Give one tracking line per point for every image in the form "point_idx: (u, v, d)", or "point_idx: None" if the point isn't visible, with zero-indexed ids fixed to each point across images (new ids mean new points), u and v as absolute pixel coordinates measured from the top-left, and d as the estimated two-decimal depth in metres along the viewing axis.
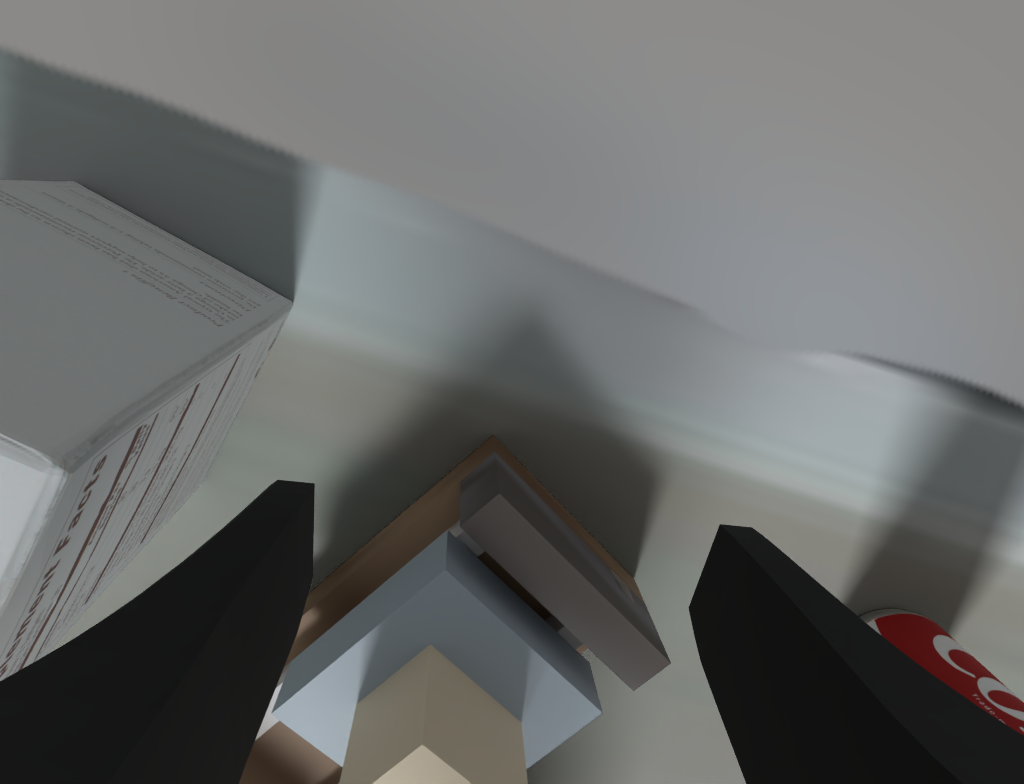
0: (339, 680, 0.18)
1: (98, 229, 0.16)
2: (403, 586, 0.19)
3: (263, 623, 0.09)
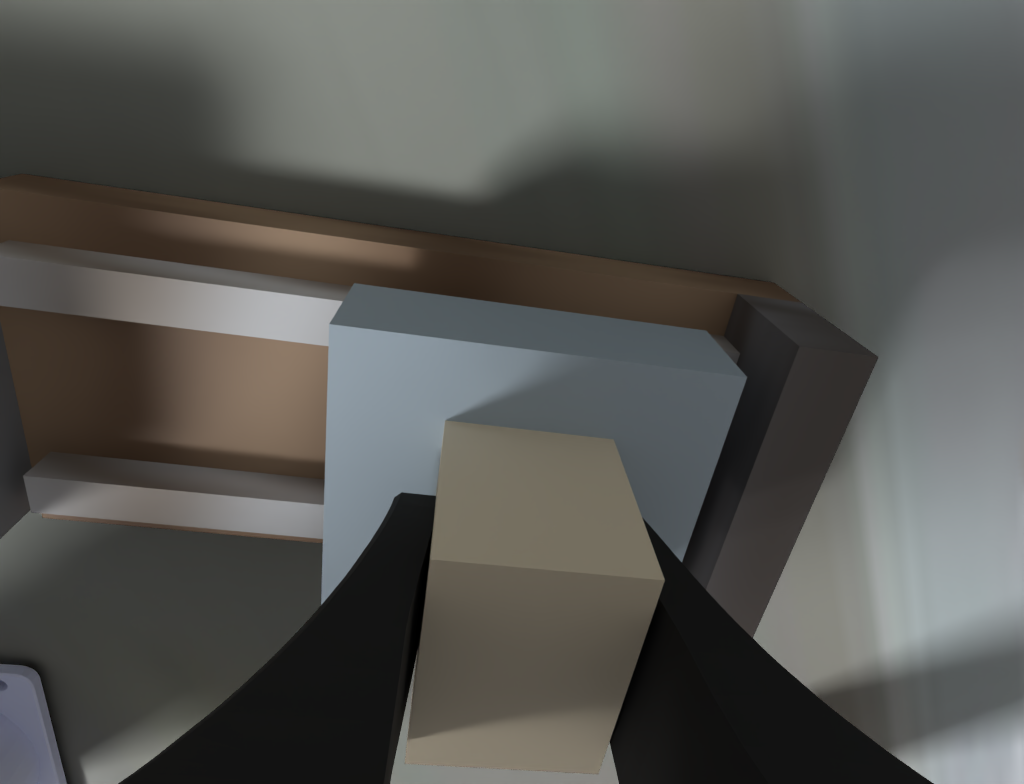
0: (466, 373, 0.11)
1: None
2: (636, 342, 0.11)
3: (412, 635, 0.09)
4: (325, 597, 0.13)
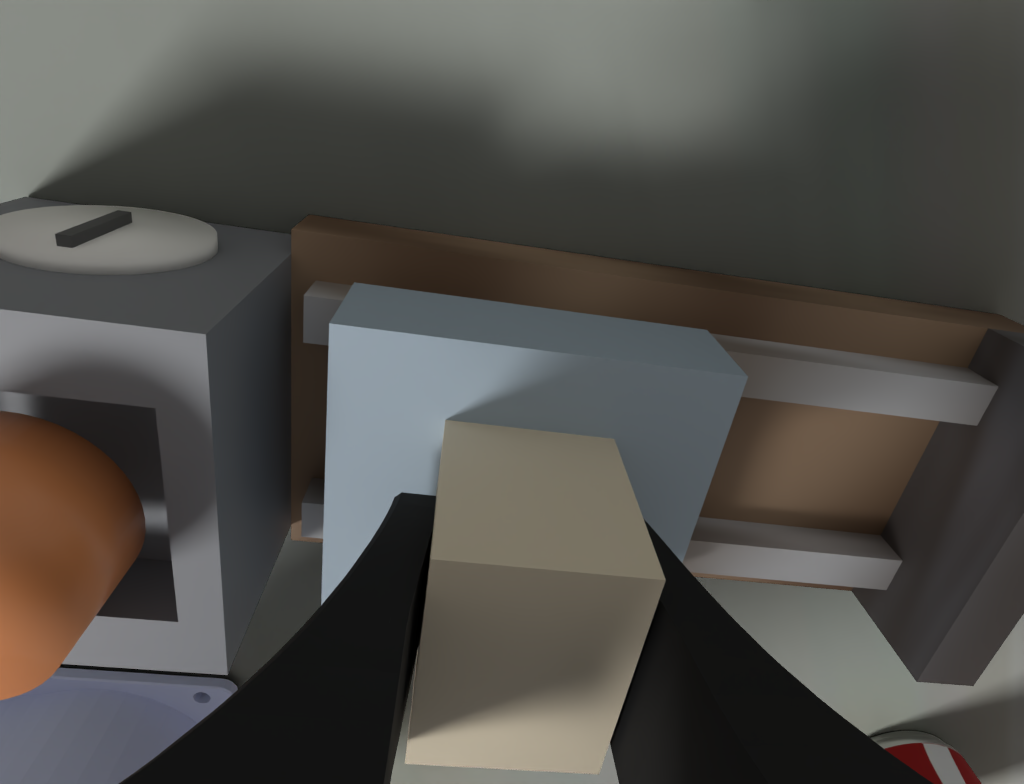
0: (467, 372, 0.10)
1: None
2: (636, 341, 0.11)
3: (412, 634, 0.09)
4: (325, 597, 0.13)
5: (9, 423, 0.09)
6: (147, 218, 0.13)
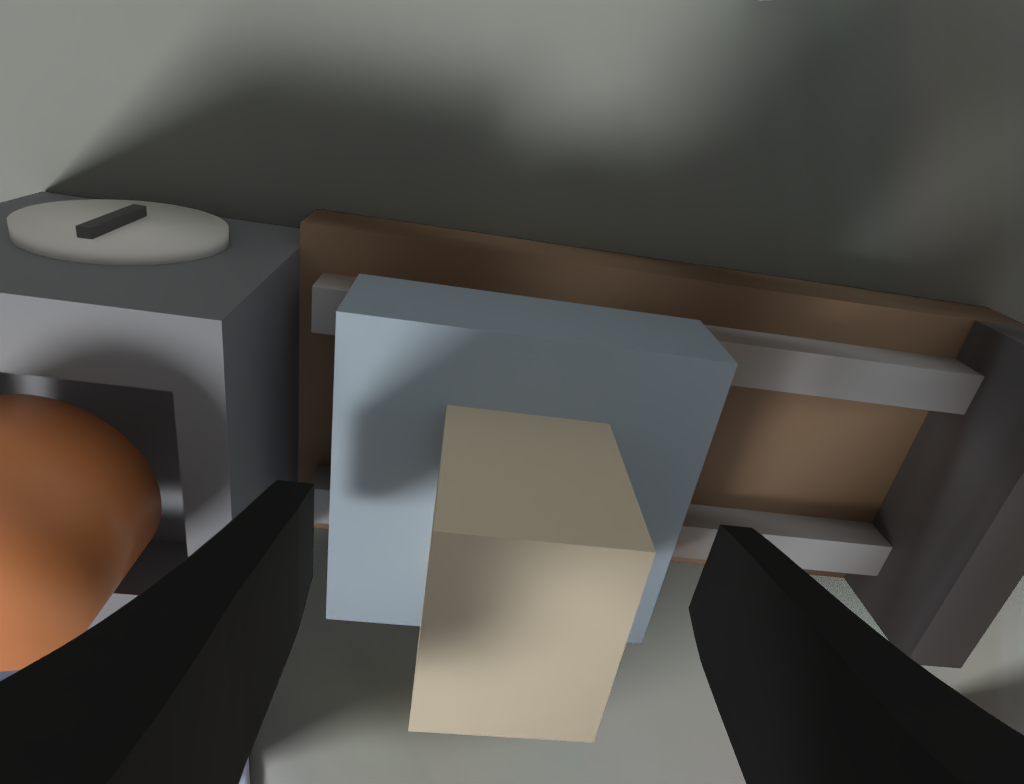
0: (468, 359, 0.11)
1: None
2: (631, 330, 0.12)
3: (264, 623, 0.09)
4: (331, 577, 0.13)
5: (34, 405, 0.10)
6: (161, 212, 0.13)
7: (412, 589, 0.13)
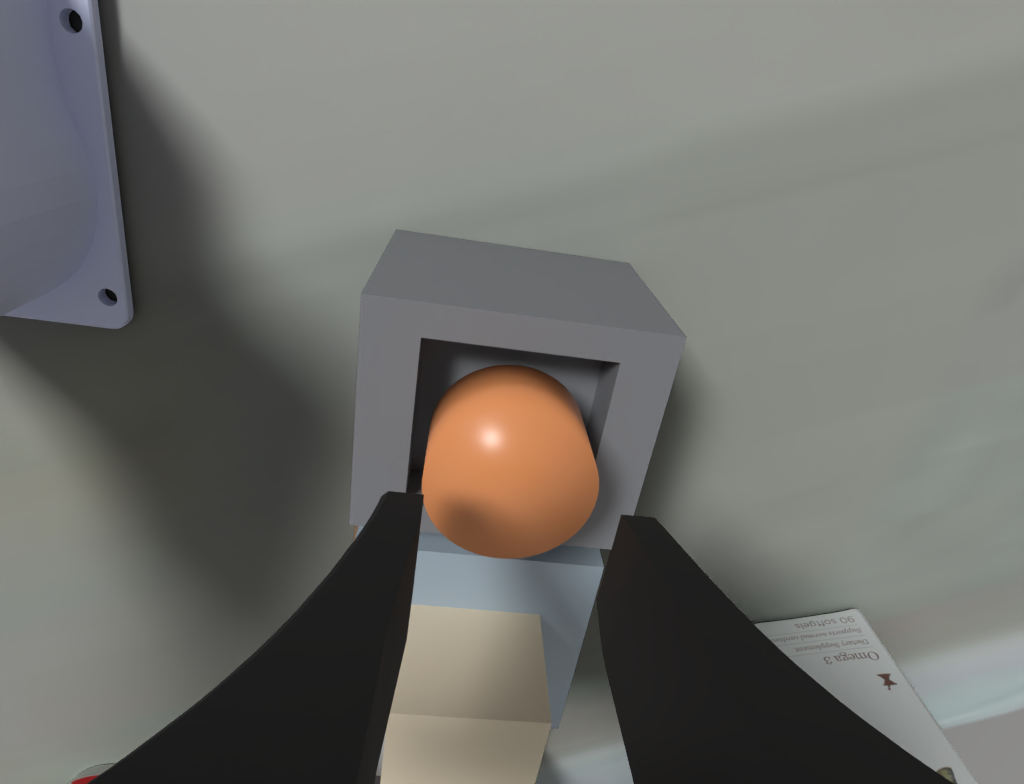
0: (569, 623, 0.19)
1: None
2: None
3: (397, 633, 0.09)
4: None
5: None
6: None
7: None
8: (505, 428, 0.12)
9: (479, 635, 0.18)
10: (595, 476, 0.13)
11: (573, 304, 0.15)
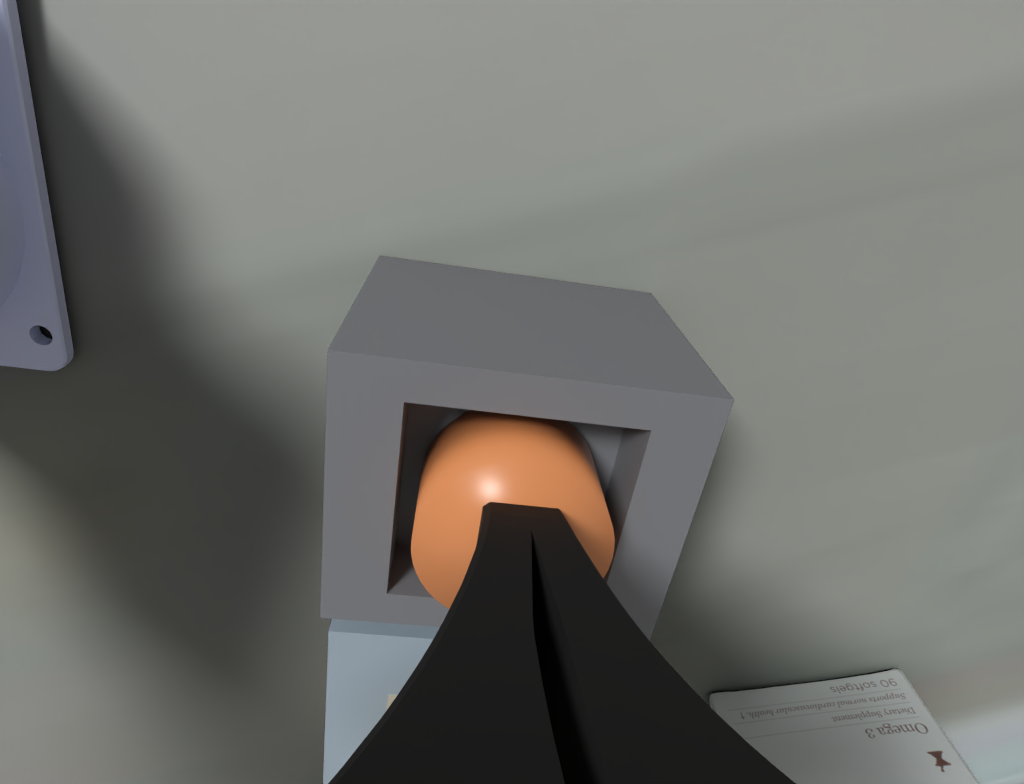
0: None
1: None
2: None
3: None
4: (379, 637, 0.15)
5: None
6: None
7: (369, 685, 0.15)
8: (507, 482, 0.11)
9: None
10: (609, 535, 0.11)
11: (592, 355, 0.12)
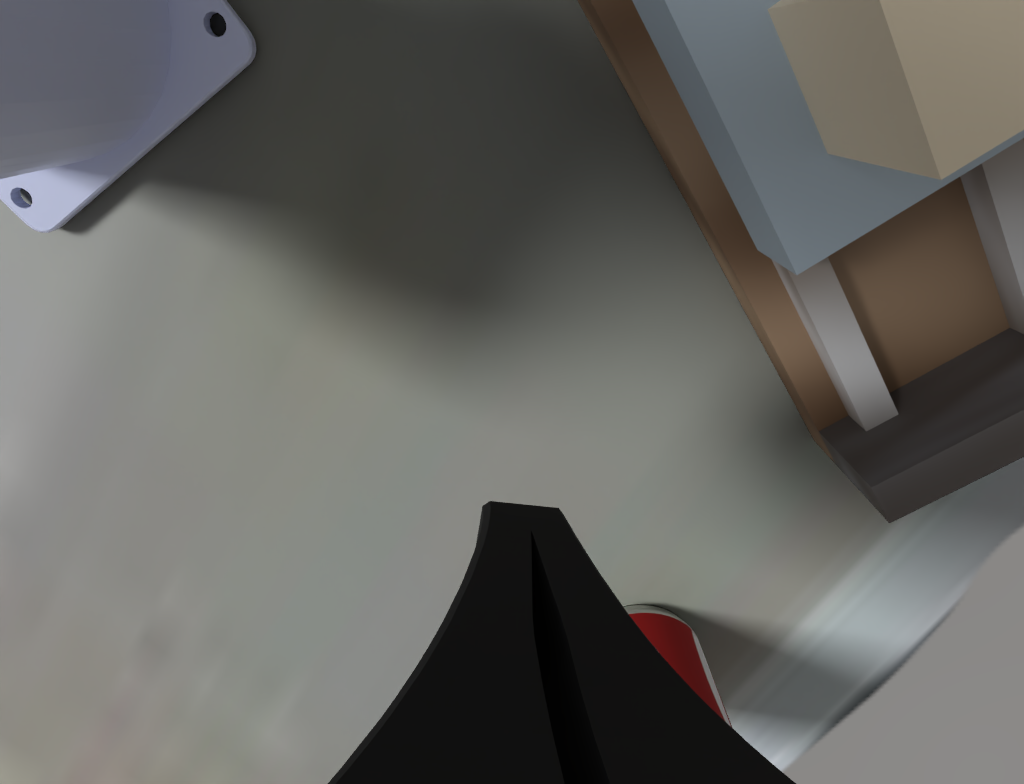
0: None
1: None
2: None
3: None
4: None
5: None
6: None
7: (737, 14, 0.12)
8: None
9: None
10: None
11: None
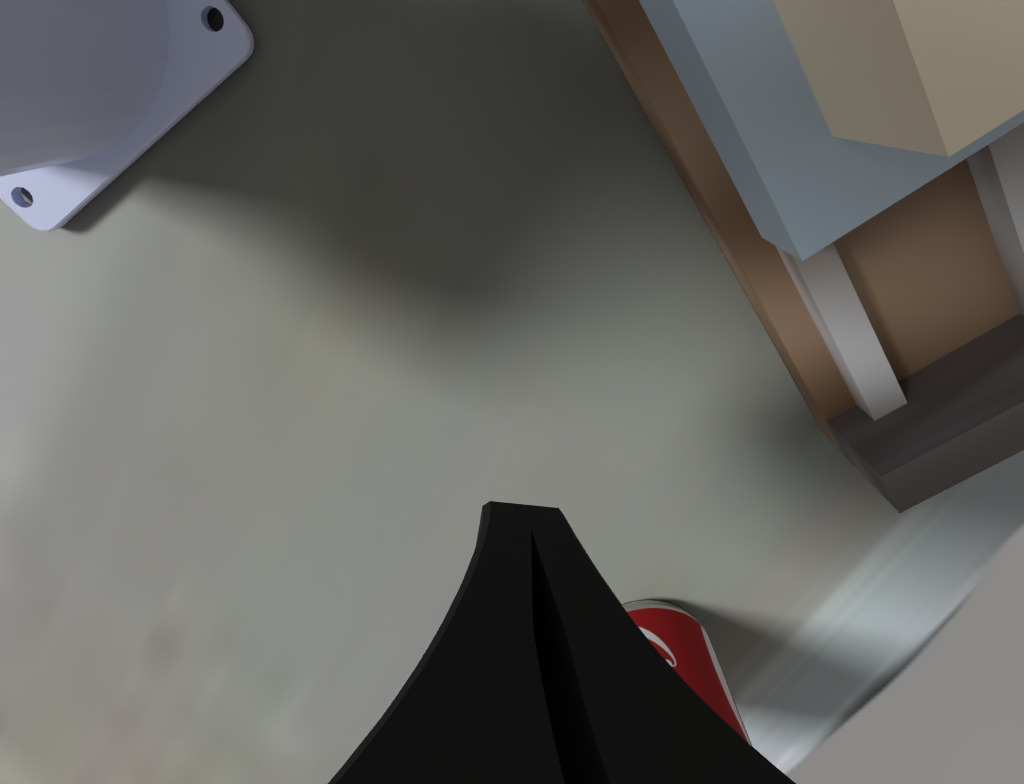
0: None
1: None
2: None
3: None
4: None
5: None
6: None
7: None
8: None
9: None
10: None
11: None
